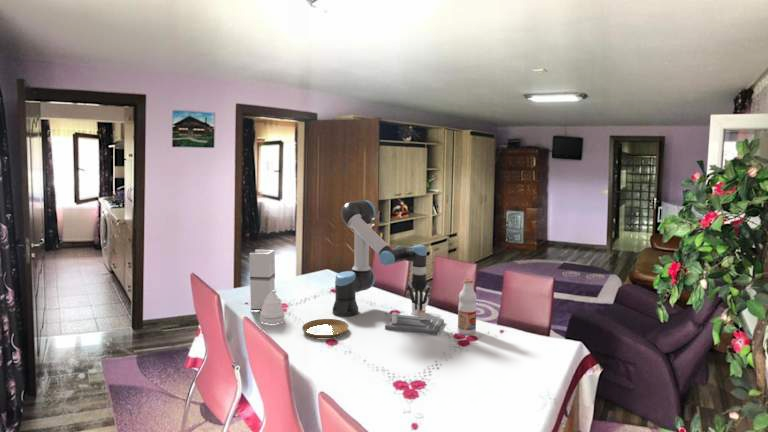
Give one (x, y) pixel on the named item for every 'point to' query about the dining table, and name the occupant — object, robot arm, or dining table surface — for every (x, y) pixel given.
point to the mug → (418, 302)
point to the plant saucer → (337, 325)
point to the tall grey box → (261, 276)
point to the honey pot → (272, 309)
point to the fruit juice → (467, 309)
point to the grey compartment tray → (416, 325)
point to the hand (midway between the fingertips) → (418, 315)
